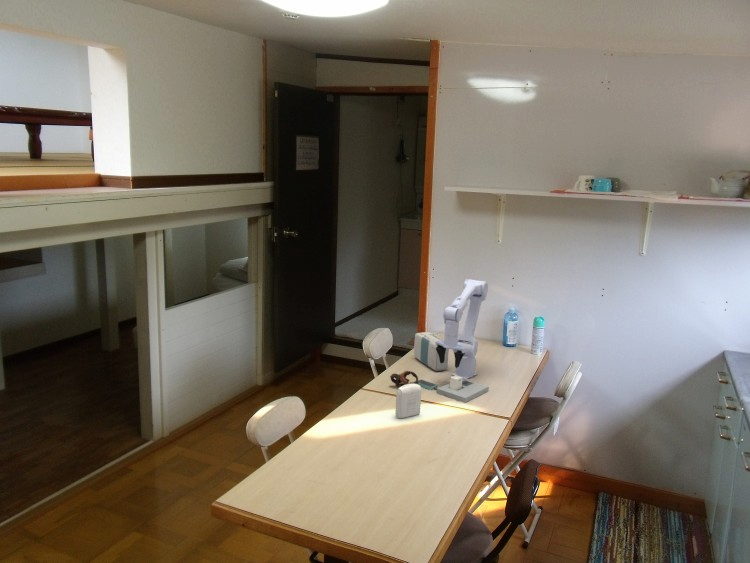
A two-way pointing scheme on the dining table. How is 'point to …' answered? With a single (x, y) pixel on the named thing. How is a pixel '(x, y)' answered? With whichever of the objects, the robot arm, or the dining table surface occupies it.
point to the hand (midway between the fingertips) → (449, 364)
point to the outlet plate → (464, 391)
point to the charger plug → (456, 383)
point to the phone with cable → (427, 385)
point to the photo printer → (408, 400)
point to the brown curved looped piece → (403, 378)
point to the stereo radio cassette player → (429, 350)
